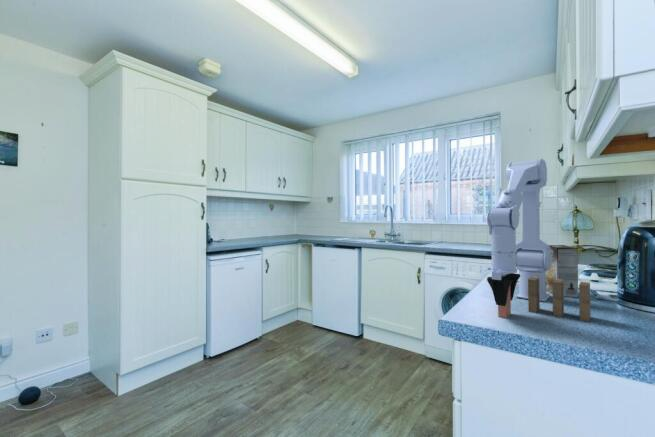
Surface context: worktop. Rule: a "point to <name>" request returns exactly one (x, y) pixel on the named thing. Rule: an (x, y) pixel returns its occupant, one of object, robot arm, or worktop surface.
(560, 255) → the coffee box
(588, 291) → the domino
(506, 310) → the domino
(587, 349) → the worktop surface
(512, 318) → the worktop surface
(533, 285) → the domino
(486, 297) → the worktop surface
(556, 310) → the domino
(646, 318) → the worktop surface
